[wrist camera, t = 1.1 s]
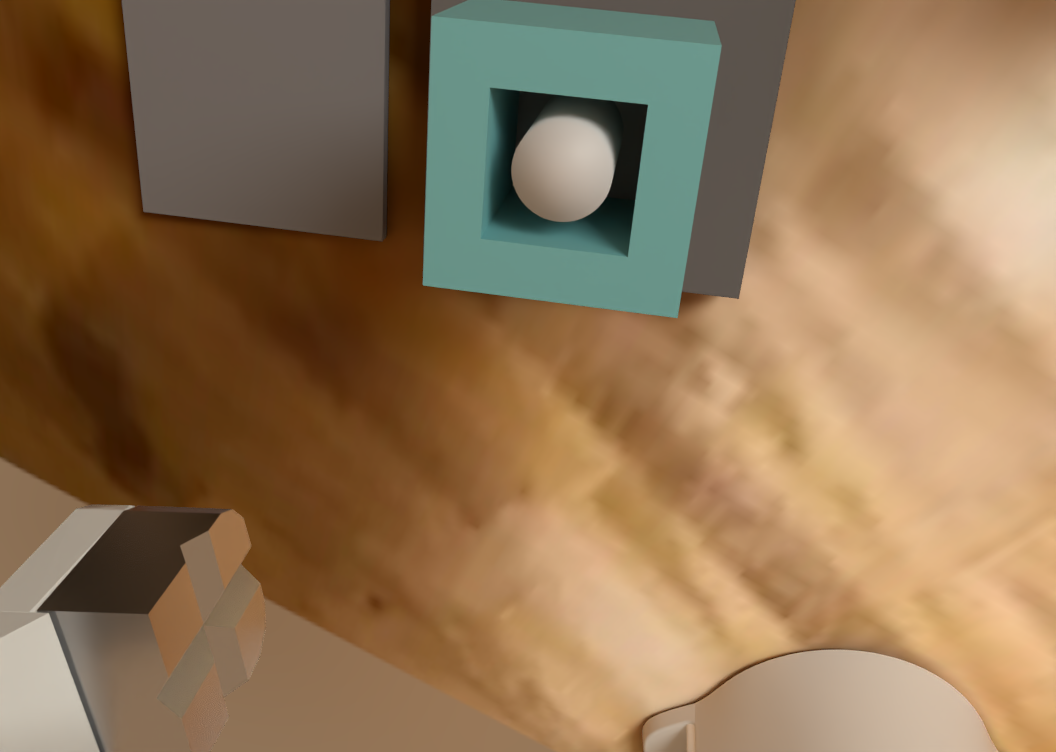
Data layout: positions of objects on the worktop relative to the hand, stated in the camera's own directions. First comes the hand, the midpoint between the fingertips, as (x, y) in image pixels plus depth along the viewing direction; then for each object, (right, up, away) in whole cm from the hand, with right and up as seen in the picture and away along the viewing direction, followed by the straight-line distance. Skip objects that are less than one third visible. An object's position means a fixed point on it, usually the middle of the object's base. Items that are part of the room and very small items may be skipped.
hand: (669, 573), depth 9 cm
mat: (-12, +13, +28) cm, 33 cm away
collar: (0, +9, +18) cm, 20 cm away
